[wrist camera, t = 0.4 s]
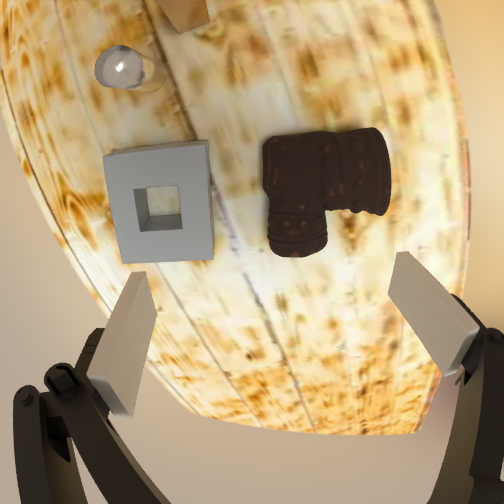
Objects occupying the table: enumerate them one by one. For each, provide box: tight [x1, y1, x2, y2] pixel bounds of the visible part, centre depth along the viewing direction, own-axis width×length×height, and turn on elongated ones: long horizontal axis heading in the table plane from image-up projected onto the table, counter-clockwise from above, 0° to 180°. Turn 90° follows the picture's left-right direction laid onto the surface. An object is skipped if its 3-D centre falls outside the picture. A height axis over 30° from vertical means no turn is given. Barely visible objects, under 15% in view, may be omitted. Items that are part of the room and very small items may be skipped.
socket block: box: [103, 140, 215, 264], centre depth 35 cm, size 14×12×5 cm
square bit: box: [156, 0, 210, 34], centre depth 21 cm, size 4×4×12 cm
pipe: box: [263, 127, 391, 258], centre depth 35 cm, size 10×15×15 cm
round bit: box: [95, 45, 165, 92], centre depth 24 cm, size 4×4×12 cm
